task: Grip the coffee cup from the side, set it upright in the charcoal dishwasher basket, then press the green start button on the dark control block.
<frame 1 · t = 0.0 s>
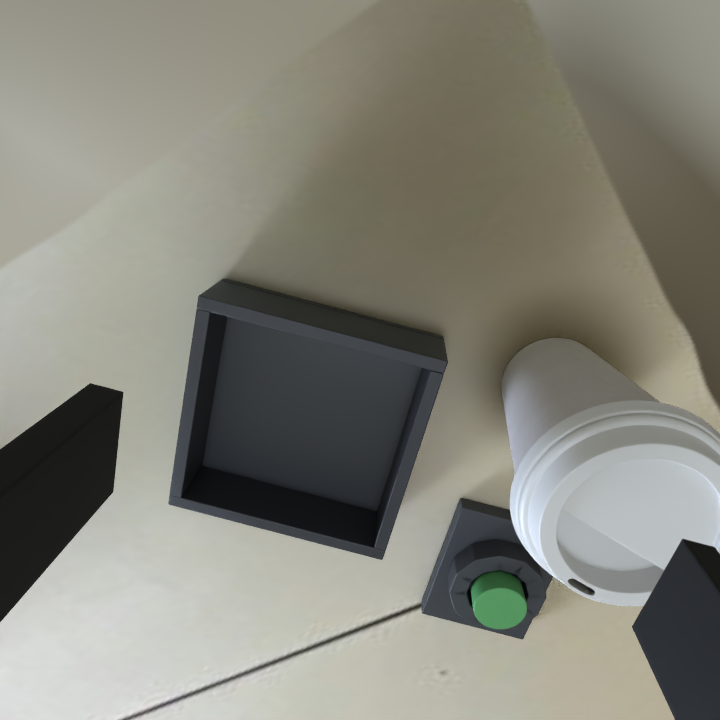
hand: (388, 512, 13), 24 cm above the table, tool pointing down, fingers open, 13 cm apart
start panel: (491, 565, 42), on the table
start button: (498, 599, 39), point 3 cm above the table, slide at 0.1 cm
basket: (310, 406, 39), on the table
coffee cup: (551, 383, 37), on the table
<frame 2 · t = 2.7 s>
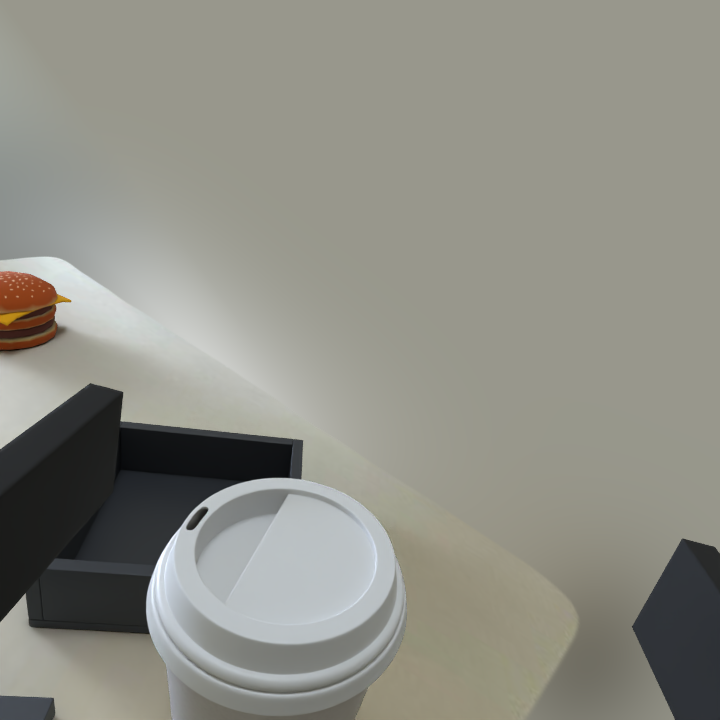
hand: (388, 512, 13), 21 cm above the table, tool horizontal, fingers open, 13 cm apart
hamburger: (10, 334, 62), on the table
basket: (188, 542, 39), on the table
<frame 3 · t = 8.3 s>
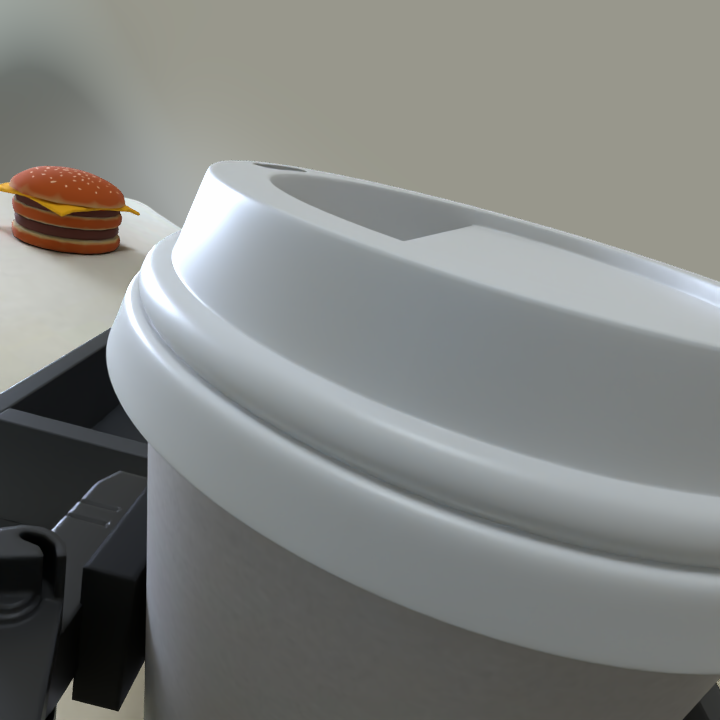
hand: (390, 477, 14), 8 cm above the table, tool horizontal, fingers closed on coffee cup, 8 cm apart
hamburger: (67, 242, 54), on the table
basket: (231, 467, 27), on the table
when the fingers open (9 cm above the table, at t = 15.7 s): coffee cup stays where it is, resting on basket.
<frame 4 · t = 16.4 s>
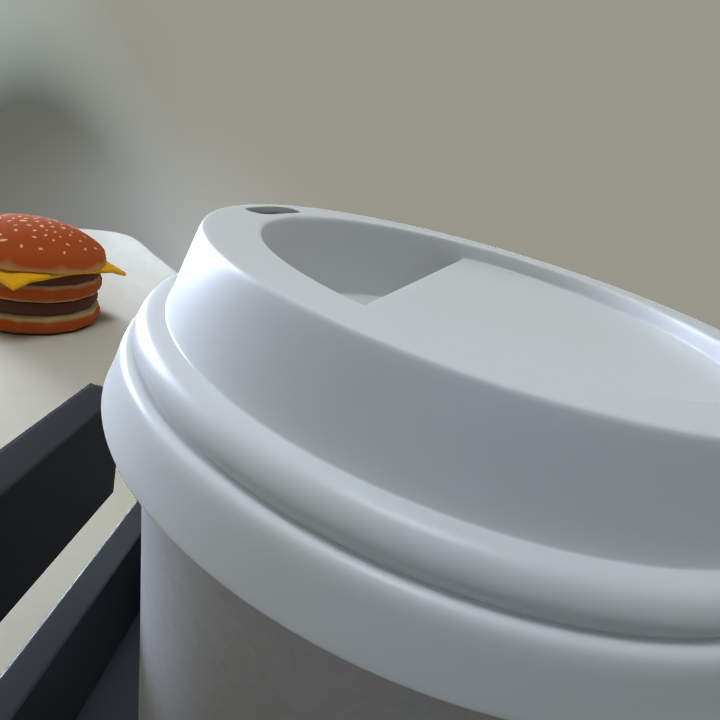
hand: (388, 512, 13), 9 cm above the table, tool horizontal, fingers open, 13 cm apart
hamburger: (28, 312, 40), on the table
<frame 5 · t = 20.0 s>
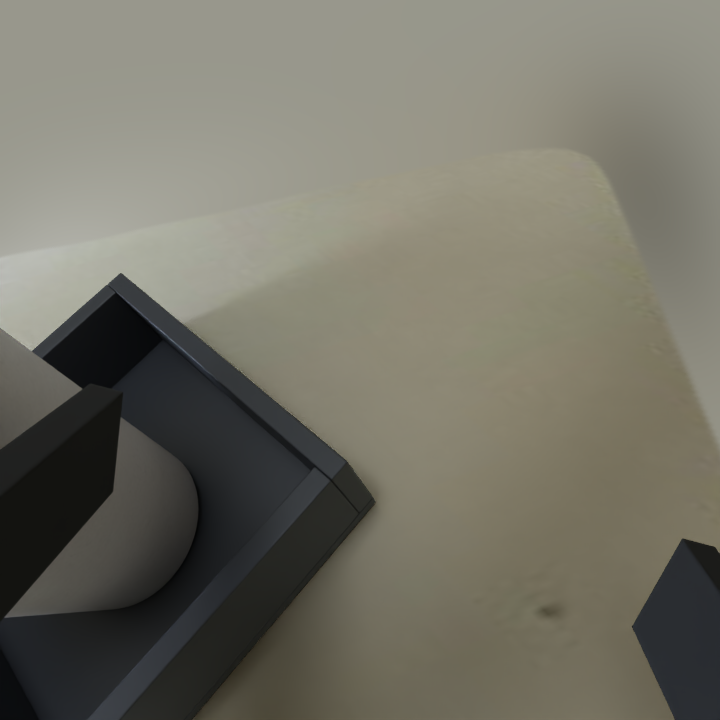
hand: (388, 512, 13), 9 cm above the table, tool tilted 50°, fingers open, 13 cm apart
basket: (139, 527, 24), on the table
coffee cup: (129, 524, 23), point 1 cm above the table, touching basket
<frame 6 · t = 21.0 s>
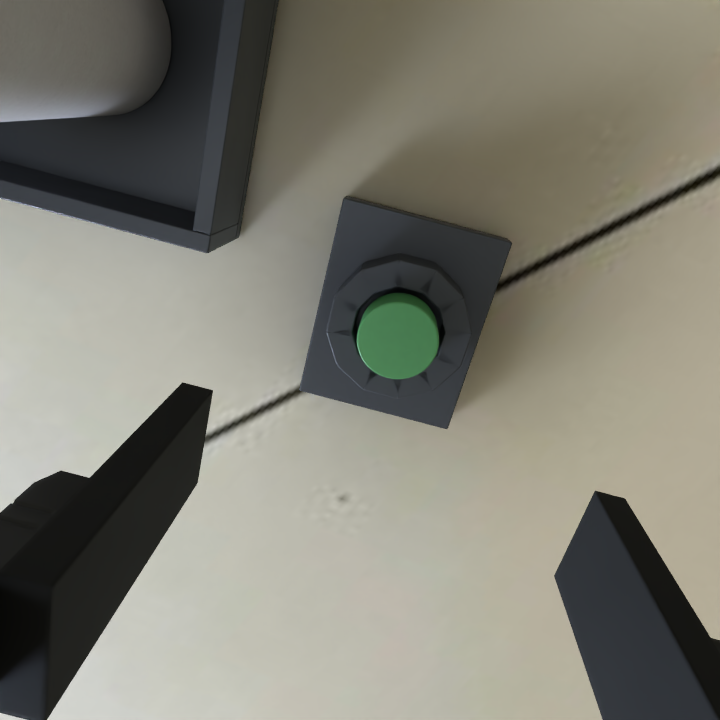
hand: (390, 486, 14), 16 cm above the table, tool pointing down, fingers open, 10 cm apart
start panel: (399, 314, 29), on the table
start button: (398, 335, 25), point 3 cm above the table, slide at 0.1 cm
basket: (108, 36, 25), on the table
coffee cup: (102, 35, 25), resting on basket
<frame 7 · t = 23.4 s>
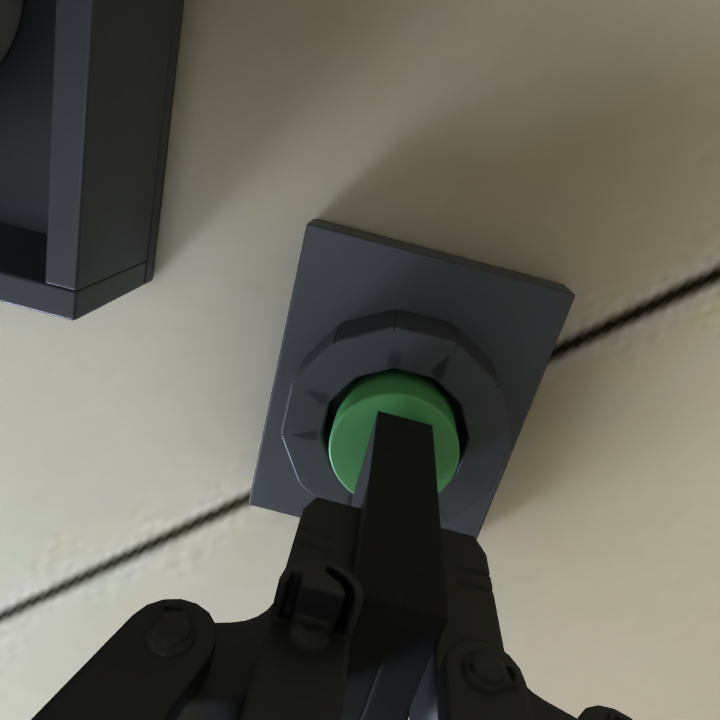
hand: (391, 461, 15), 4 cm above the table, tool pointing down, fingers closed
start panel: (396, 394, 19), on the table
start button: (394, 438, 16), point 3 cm above the table, slide at -0.3 cm, touching gripper
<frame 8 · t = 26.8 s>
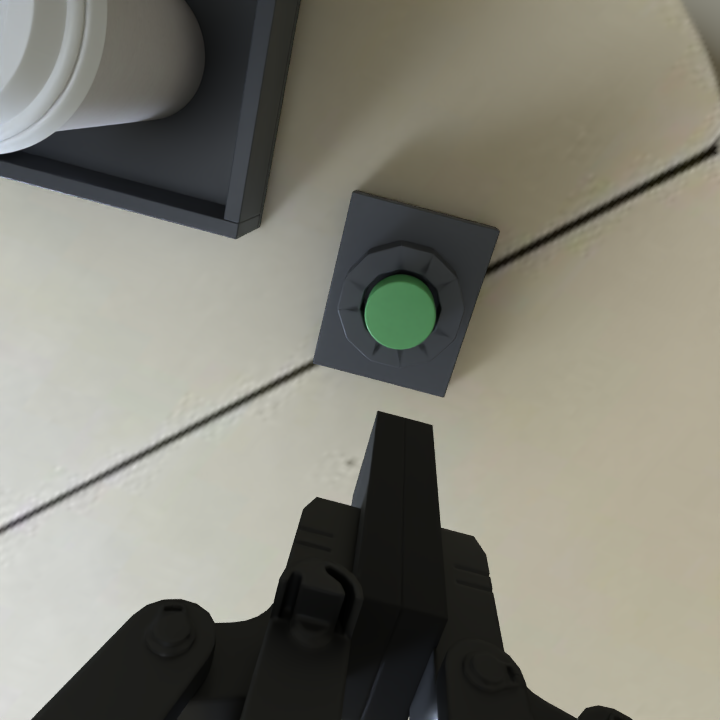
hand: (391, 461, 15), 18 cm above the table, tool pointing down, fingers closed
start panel: (401, 295, 32), on the table
start button: (400, 311, 29), point 3 cm above the table, slide at 0.1 cm
basket: (147, 51, 29), on the table
coffee cup: (144, 50, 29), resting on basket
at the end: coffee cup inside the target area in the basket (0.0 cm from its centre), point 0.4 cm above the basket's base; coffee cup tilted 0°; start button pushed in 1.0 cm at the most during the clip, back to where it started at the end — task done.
